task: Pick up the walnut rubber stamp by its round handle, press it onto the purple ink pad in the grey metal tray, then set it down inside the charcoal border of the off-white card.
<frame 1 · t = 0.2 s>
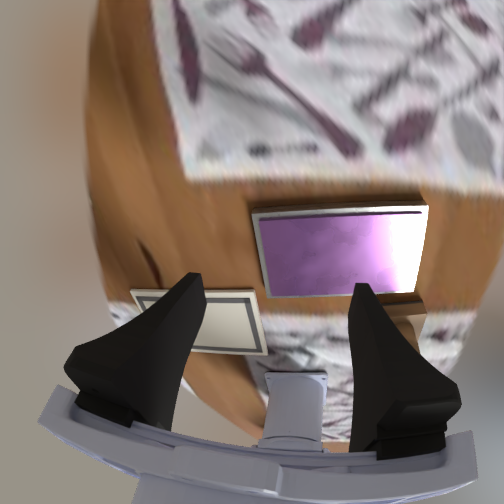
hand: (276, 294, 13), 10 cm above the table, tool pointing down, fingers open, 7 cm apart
stamp: (395, 319, 26), on the table
marked card: (200, 323, 31), on the table
ink pad: (342, 249, 23), on the table
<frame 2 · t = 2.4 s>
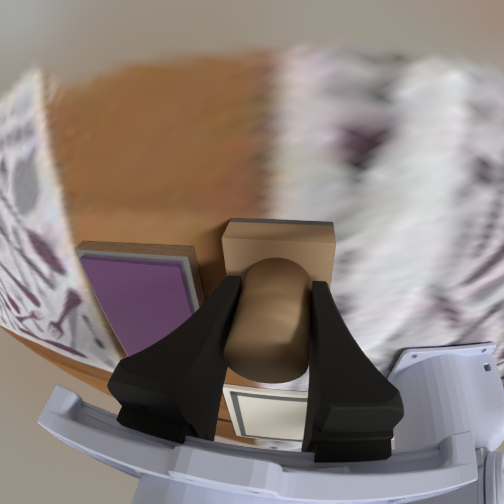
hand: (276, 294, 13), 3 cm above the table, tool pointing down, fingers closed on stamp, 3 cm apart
stamp: (281, 261, 15), on the table, touching gripper
marked card: (276, 418, 27), on the table
ink pad: (157, 319, 20), on the table
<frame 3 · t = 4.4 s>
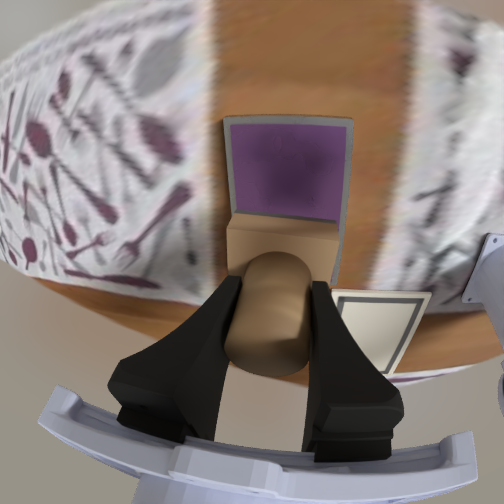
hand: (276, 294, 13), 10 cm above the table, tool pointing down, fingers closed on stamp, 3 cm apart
stamp: (281, 256, 15), point 7 cm above the table, touching gripper
marked card: (368, 339, 28), on the table
ink pad: (289, 204, 21), on the table
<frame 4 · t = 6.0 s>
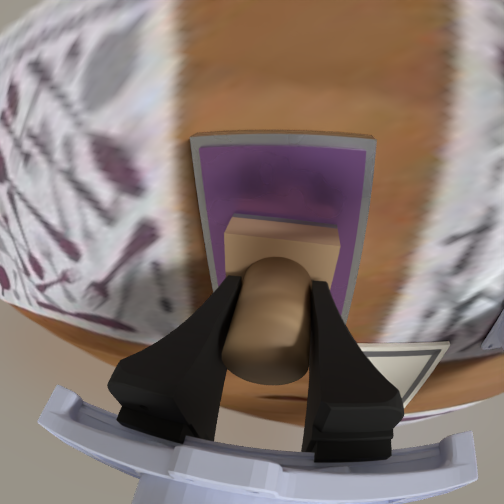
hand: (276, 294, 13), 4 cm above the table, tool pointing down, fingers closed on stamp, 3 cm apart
stamp: (281, 260, 15), point 1 cm above the table, touching gripper, ink pad
marked card: (373, 387, 23), on the table
ink pad: (283, 250, 16), on the table
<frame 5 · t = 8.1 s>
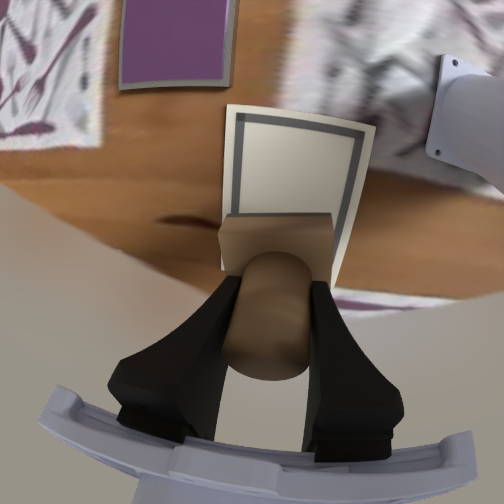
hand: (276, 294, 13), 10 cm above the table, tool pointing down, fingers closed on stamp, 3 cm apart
stamp: (281, 255, 15), point 7 cm above the table, touching gripper
marked card: (289, 204, 21), on the table
ink pad: (180, 2, 13), on the table
when the fingers open (4 cm above the table, at t = 9.9 s): stamp stays where it is, resting on marked card.
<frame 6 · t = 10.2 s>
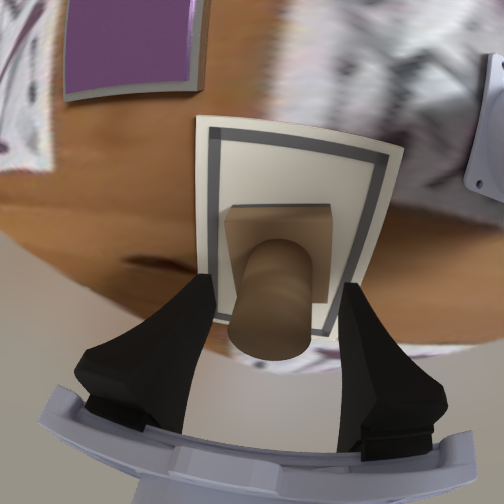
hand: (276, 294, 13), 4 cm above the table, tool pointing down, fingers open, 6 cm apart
stamp: (283, 245, 16), resting on marked card
marked card: (283, 248, 16), on the table
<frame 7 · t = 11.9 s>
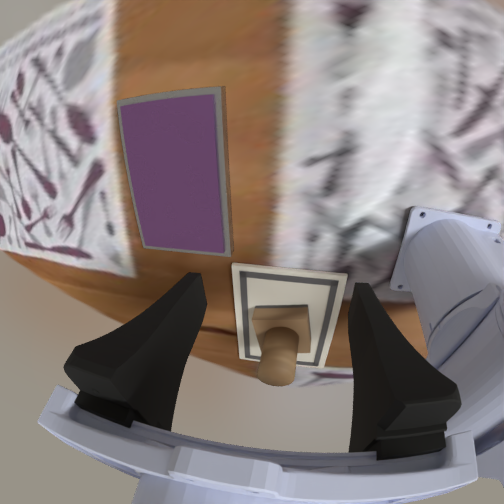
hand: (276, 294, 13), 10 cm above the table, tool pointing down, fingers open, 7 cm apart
stamp: (284, 323, 28), resting on marked card
marked card: (285, 323, 29), on the table
ink pad: (178, 174, 22), on the table
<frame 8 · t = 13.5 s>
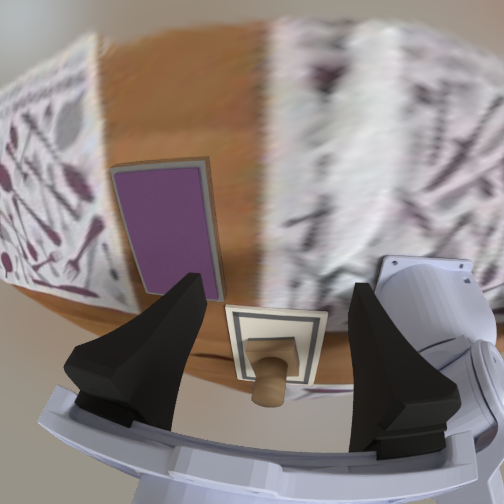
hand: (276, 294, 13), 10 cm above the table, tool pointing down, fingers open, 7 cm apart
stamp: (275, 351, 31), resting on marked card
marked card: (275, 350, 32), on the table
ink pad: (172, 233, 25), on the table
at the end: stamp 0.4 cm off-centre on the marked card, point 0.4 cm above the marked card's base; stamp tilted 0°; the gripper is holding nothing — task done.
